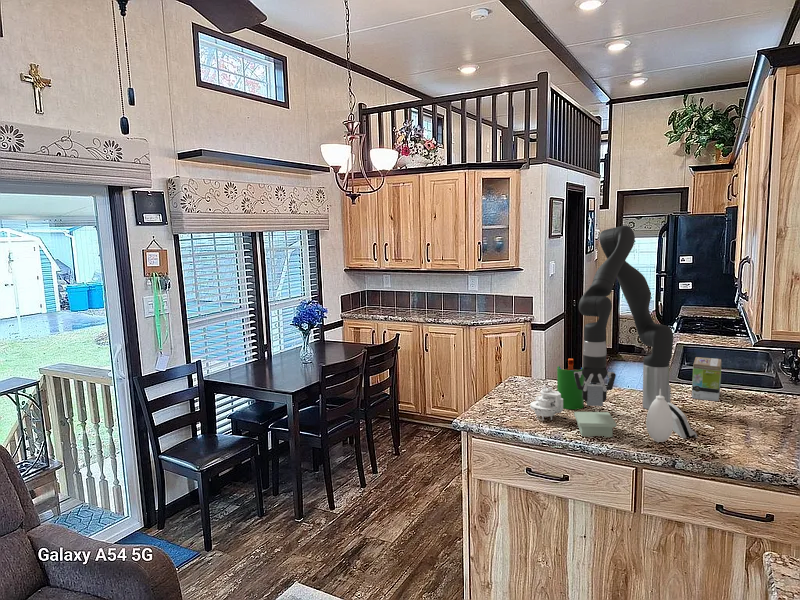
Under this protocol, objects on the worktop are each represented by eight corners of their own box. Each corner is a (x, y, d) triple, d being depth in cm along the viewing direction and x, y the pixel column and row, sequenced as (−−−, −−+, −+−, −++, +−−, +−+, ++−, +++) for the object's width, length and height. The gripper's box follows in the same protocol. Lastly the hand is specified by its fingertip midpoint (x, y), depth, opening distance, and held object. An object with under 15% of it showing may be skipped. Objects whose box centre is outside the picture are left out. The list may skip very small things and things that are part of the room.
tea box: (719, 402, 215) (720, 365, 213) (691, 398, 220) (692, 363, 218) (720, 392, 227) (721, 358, 226) (693, 389, 233) (694, 356, 231)
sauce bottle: (655, 435, 182) (656, 383, 180) (677, 442, 175) (678, 389, 173) (641, 440, 178) (642, 388, 176) (663, 448, 171) (664, 393, 169)
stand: (608, 425, 192) (608, 412, 192) (616, 438, 181) (616, 423, 180) (573, 424, 194) (574, 411, 194) (579, 437, 183) (579, 423, 182)
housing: (598, 398, 193) (599, 377, 192) (602, 406, 184) (603, 384, 183) (584, 398, 194) (584, 376, 193) (587, 405, 185) (587, 383, 184)
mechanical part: (524, 416, 206) (524, 386, 204) (549, 411, 210) (549, 382, 209) (543, 425, 195) (543, 393, 194) (569, 419, 200) (569, 389, 199)
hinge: (698, 438, 178) (688, 411, 177) (684, 443, 179) (674, 415, 178) (675, 421, 195) (666, 396, 194) (663, 425, 195) (654, 400, 194)
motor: (581, 402, 220) (581, 355, 217) (586, 409, 211) (586, 360, 208) (555, 402, 221) (555, 355, 218) (560, 409, 212) (560, 360, 209)
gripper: (614, 351, 187) (613, 398, 189) (571, 351, 189) (571, 397, 191) (619, 355, 180) (618, 405, 182) (574, 355, 182) (574, 404, 184)
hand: (594, 401), depth 186 cm, fingers closed on housing, 5 cm apart
